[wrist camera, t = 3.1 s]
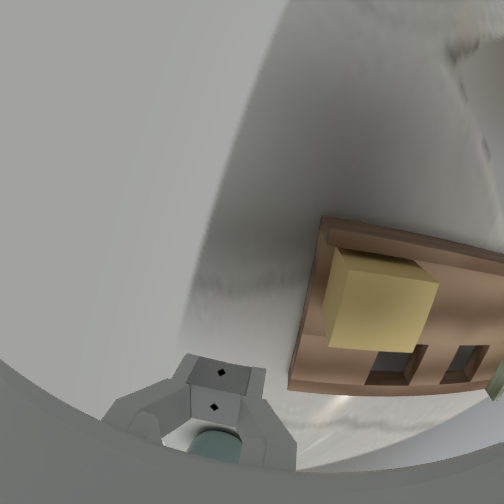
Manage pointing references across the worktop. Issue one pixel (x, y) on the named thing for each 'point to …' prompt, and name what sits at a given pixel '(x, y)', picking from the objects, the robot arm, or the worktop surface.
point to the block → (376, 301)
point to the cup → (217, 446)
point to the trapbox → (434, 331)
